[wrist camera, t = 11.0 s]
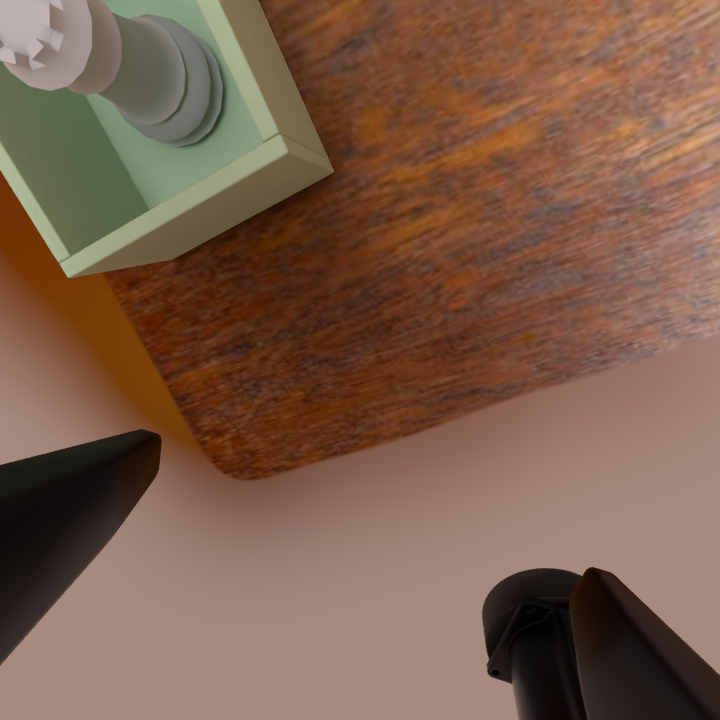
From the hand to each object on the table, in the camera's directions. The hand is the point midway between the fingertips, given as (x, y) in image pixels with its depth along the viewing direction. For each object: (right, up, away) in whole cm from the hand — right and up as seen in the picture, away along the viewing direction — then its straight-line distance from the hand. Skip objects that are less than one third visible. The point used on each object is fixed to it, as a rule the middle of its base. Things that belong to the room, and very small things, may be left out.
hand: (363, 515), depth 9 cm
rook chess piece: (-8, +15, +10) cm, 19 cm away
